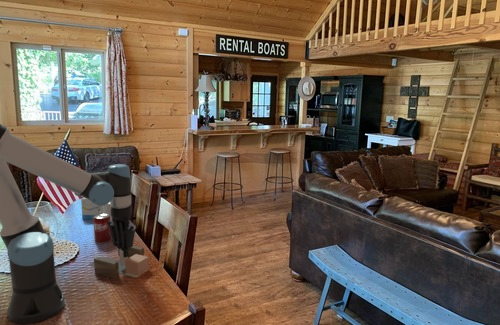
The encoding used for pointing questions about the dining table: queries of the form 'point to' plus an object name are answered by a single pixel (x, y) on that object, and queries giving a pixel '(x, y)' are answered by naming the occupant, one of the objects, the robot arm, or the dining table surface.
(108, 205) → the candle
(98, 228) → the soda can
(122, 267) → the mat
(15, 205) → the robot arm
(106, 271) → the tunnel walls
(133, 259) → the terracotta block
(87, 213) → the ink box
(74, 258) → the dining table surface
